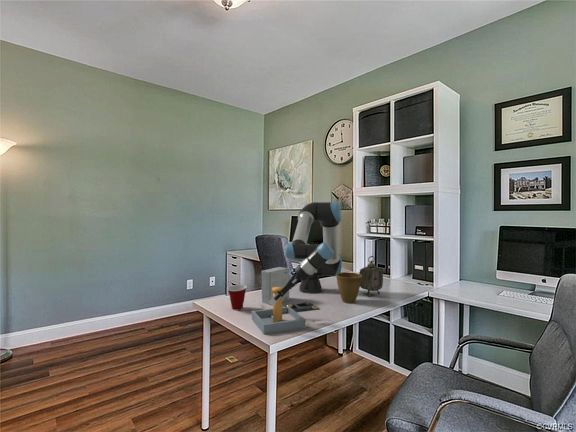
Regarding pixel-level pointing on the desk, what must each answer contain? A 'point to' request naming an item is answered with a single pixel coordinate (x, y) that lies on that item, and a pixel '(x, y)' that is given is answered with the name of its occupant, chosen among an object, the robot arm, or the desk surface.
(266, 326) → the pin tray
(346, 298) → the plant pot
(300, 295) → the desk surface
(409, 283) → the desk surface
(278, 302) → the pin
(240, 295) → the plastic cup
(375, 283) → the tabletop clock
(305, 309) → the tensioner bracket
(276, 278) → the hard drive box
